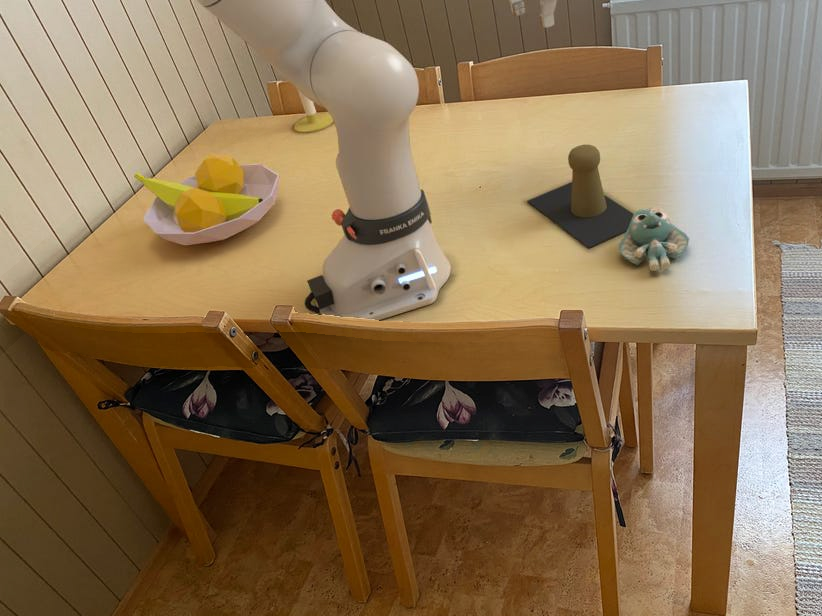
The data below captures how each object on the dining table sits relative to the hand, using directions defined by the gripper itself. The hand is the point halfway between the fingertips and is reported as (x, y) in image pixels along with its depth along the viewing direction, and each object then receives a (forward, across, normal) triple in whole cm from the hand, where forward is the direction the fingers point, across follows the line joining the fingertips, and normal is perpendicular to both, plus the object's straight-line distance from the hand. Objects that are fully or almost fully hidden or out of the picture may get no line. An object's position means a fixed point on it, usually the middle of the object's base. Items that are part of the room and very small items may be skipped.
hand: (532, 19), depth 120 cm
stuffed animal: (+29, +32, -1) cm, 43 cm away
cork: (+28, +14, -1) cm, 32 cm away
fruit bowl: (+29, -34, -58) cm, 72 cm away
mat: (+28, +14, -2) cm, 32 cm away
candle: (+29, -66, -28) cm, 77 cm away
